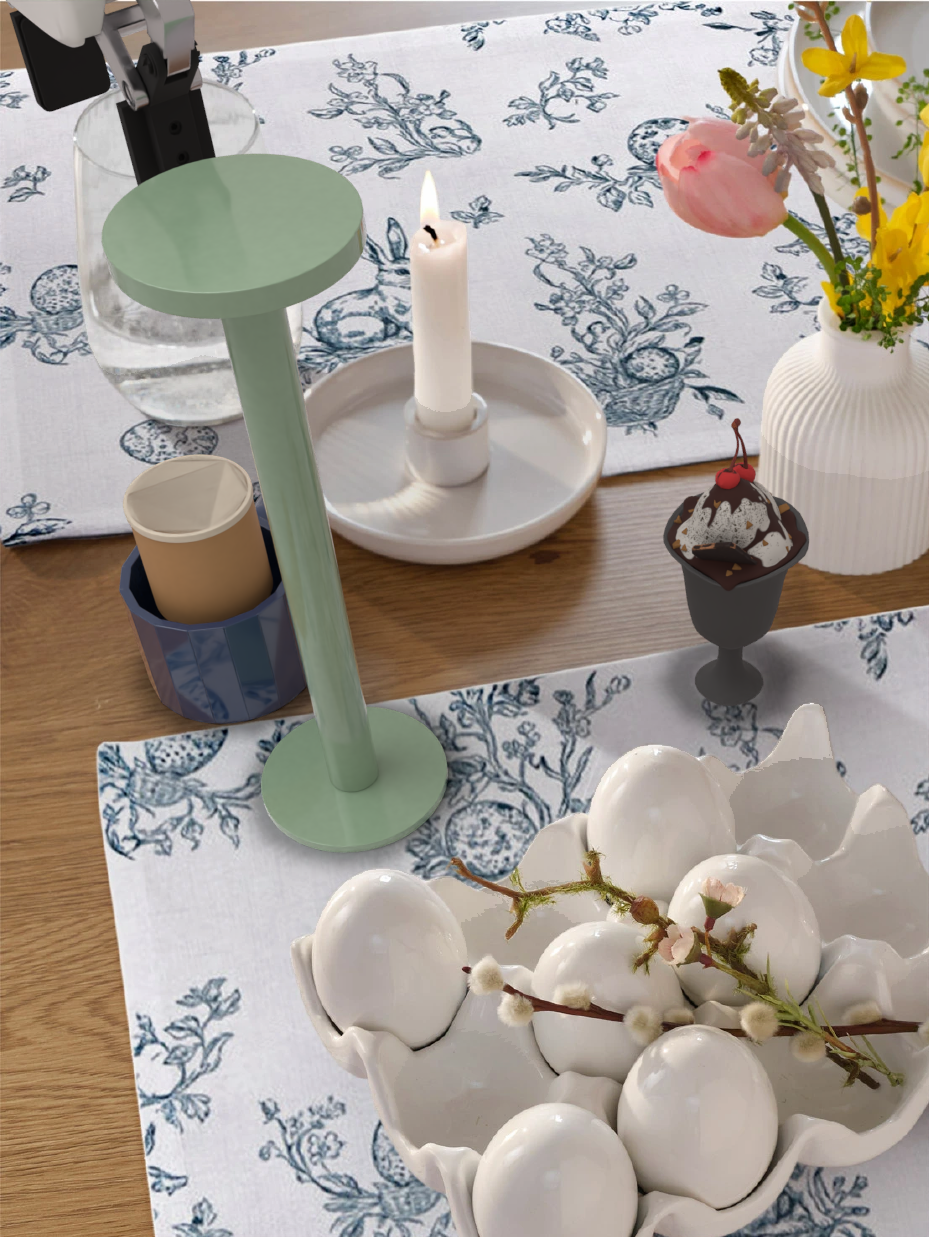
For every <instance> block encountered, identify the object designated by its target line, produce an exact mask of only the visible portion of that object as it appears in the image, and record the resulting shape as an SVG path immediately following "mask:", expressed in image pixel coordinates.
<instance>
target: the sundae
mask: <svg viewBox="0 0 929 1237" xmlns="http://www.w3.org/2000/svg"><path fill="white" fill-rule="evenodd" d="M741 424H742V421H741V419H740V418H739V417H736V418H734V419H733V420H732V422H731V424H730V427H731V428H732V431H733V433H734V437H735V440H736V448H735V452H734V455H733V458H732V460H731V462H730V464H729V467H723V468H721V469H720V470H718V471H717V472H716V473H715V478H714V482H715V483H714V484H713V485H711V486H709V487H708V488H707V489H706V490H705V491H702V492H701V493H698V494H696V495H689V496H687V497H686V498H684V500H683V502H681V503H680V505H679V506H678V507H677V508H676V509H675V510H674V511H673V512H672V514H671V515H670V517H669V518H668V520H667V522H666V524H665V527H664V531H663V535H662V539H663V540H662V542H663V544H664V546H665V548H666V550H667V552H668V553H669V554H670V556H671V557H672V558H673V559H674V560H675V561H676V562H677V563H679V564H680V567H681V570H682V575H683V581H684V588H685V597H686V603H687V604H686V605H687V608H688V611H689V615H690V620H691V624H692V625H693V627H694V628H695V630H696V632H697V633H698V634H699V635H700V636H701V637H702V638H704V639H705V640H706V641H708V642H709V643H711V644H713V645H715V646H717V647H718V652H717V653H718V654H717V657H716V659H713V660H710V661H709V662H707V663H705V664H703V665H702V667H700V668H699V669H698V670H697V672H696V674H695V675H694V676H695V677H694V686H695V687H696V689H697V691H698V693H699V694H700V695H701V696H702V697H704V699H706V700H707V701H709V702H711V703H712V704H714V705H715V704H716V705H718V706H723V707H735V706H740V705H743V704H746V703H748V702H750V701H752V700H753V699H755V698H756V697H757V696H758V695H759V694H760V693H761V691H762V690H763V687H764V678H763V676H762V674H761V672H760V671H759V670H758V668H757V667H755V666H754V665H753V664H752V663H750V662H748V661H747V660H744V659H743V651H744V648H745V647H747V646H750V645H752V644H754V643H756V642H757V641H759V640H761V639H763V637H764V636H765V635H766V634H767V633H769V631H770V630H771V628H772V625H773V622H774V620H775V618H776V615H777V612H778V608H779V604H780V600H781V595H782V593H783V592H782V591H783V587H784V583H785V579H786V576H787V573H788V571H789V569H792V568H793V567H794V566H796V565H797V564H798V563H799V562H800V561H801V560H803V558H805V557H806V554H807V552H808V551H809V546H810V536H809V535H810V534H809V533H810V532H809V530H808V527H807V524H806V521H805V520H804V518H803V516H802V514H801V512H800V511H798V509H796V507H795V506H794V505H792V504H791V503H789V501H787V500H785V499H783V498H781V497H777V496H774V495H773V493H772V492H770V491H769V490H768V488H766V487H765V485H763V484H762V483H760V482H758V481H756V480H755V479H756V475H757V473H756V469H755V468H754V466H753V465H752V464H750V463H749V462H748V454H747V449H746V446H745V442H744V440H743V437H742V435H741V433H740V432H739V427H740V425H741ZM740 446H741V451H742V458H743V461H742V462H741V461H740V462H737V459H738V455H739V451H740Z"/></svg>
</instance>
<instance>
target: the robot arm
mask: <svg viewBox="0 0 929 1237" xmlns="http://www.w3.org/2000/svg"><path fill="white" fill-rule="evenodd" d="M5 1H6V3H7V5H8V6H9V8H11V9H16V10H14V11H11V12H8V13H9V14H8V15H9V17H10V19H11V24H12V27H13V30H14V34H15V36H16V40H17V43H18V47H19V50H20V52H21V55H22V60H23V63H24V67H25V69H26V72H27V75H28V76H27V77H28V79H29V83H30V85H31V89H32V92H33V95H34V99H35V102H36V104H37V106H39V107H40V108H41V109H42V110H43V111H45V112H49V113H51V112H55V111H58V110H61V109H63V108H66V107H69V106H72V105H75V104H78V103H81V102H84V101H87V100H90V99H92V98H95V97H98V96H101V95H105V94H106V93H108V92H109V90H110V89H111V85H112V81H111V78H110V74H109V69H110V71H111V73H112V75H113V77H114V79H115V81H116V83H117V85H118V87H119V89H120V92H121V94H122V95H123V98H124V99H123V100H121V101H118V102H116V103H115V105H116V110H117V113H118V118H119V121H120V125H121V129H122V132H123V136H124V140H125V143H126V147H127V151H128V155H129V158H130V163H131V166H132V169H133V173H134V178H135V181H136V184H137V186H139V185H140V184H142V183H143V182H145V181H147V180H149V179H151V178H153V177H155V176H156V175H158V174H161V173H163V172H166V171H168V170H170V169H173V168H176V167H179V166H182V165H185V164H188V163H192V162H196V161H200V160H204V159H209V158H214V157H217V156H216V151H215V146H214V143H213V137H212V133H211V129H210V124H209V121H208V116H207V111H206V107H205V103H204V99H203V98H204V97H203V94H202V89H201V88H203V83H204V82H203V77H202V73H201V70H200V56H201V51H200V50H198V49H197V46H199V44H198V42H197V41H196V39H195V33H196V32H195V31H196V14H195V10H194V7H193V6H194V5H193V4H192V1H191V0H135V2H136V4H133V5H130V6H126V7H124V8H121V9H116V10H115V11H111V12H108V13H106V12H105V10H106V5H108V4H111V3H114V2H118V0H5ZM142 31H146V34H147V36H148V37H149V39H150V42H149V43H146V44H143V45H142V46H141V49H140V53H139V55H138V59H137V62H136V65H135V63H134V61H133V59H132V57H131V55H130V52H129V50H128V48H127V46H126V44H125V43H124V40H123V38H124V37H128V36H131V35H133V34H137V33H140V32H142ZM106 62H107V63H106ZM107 65H108V67H109V69H108V67H107Z"/></svg>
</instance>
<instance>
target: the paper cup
mask: <svg viewBox="0 0 929 1237" xmlns="http://www.w3.org/2000/svg"><path fill="white" fill-rule="evenodd" d="M122 509H123V513H124V517H125V519H126V522H127V523H128V525H129V526H130V528H131V531H132V534H133V537H134V540H135V543H136V545H137V546H138V550H139V553H140V556H141V559H142V562H143V565H144V568H145V571H146V574H147V577H148V581H149V584H150V587H151V590H152V593H153V596H154V599H155V602H156V605H157V608H158V610H159V611H160V613H161V614H162V615H163V616H164V617H165V618H166V619H167V620H168V621H173V622H178V623H184V624H189V625H191V624H200V623H210V622H220V621H224V620H226V619H229V618H232V617H234V616H237V615H240V614H242V613H245V612H247V611H250V610H252V609H254V608H255V607H256V606H258V605H259V604H260V603H262V602H263V601H264V600H265V599H267V598H268V597H269V596H270V595H271V592H272V588H273V577H272V573H271V569H270V565H269V561H268V557H267V553H266V549H265V545H264V540H263V536H262V532H261V528H260V524H259V520H258V516H257V512H256V508H255V500H254V486H253V483H252V480H251V477H250V475H249V473H248V472H247V471H246V469H245V468H243V466H241V465H240V464H238V463H237V462H235V461H233V460H232V459H228V458H226V457H223V456H219V455H213V454H203V453H202V454H199V453H198V454H197V453H196V454H187V455H185V454H184V455H179V456H175V457H172V458H171V457H170V458H168V459H165V460H163V461H160V462H157V463H156V464H153V465H151V466H150V467H148V468H147V469H145V470H144V471H142V472H141V473H140V474H138V475H137V476H136V477H135V478H134V479H133V480H132V481H131V482H130V484H129V485H128V487H127V488H126V490H125V492H124V495H123V499H122Z"/></svg>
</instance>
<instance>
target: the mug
mask: <svg viewBox="0 0 929 1237" xmlns="http://www.w3.org/2000/svg"><path fill="white" fill-rule="evenodd" d="M254 503H255V508H256V512H257V516H258V520H259V524H260V528H261V532H262V536H263V540H264V545H265V549H266V553H267V557H268V561H269V565H270V569H271V573H272V577H273V588H272V592H271V595H270V596H269V597H268V598H267V599H265V600H264V601H263V602H262V603H260V604H259V605H258V606H256V607H255V608H254V609H252V610H250V611H247V612H245V613H242V614H240V615H237V616H234V617H232V618H229V619H226V620H224V621H220V622H210V623H200V624H191V625H189V624H184V623H178V622H173V621H168V620H167V619H166V618H165V617H164V616H163V615H162V614H161V613H160V611H159V610H158V608H157V605H156V602H155V599H154V596H153V593H152V590H151V587H150V584H149V581H148V577H147V574H146V571H145V568H144V565H143V562H142V559H141V556H140V553H139V550H138V546H137V544H135V546H134V548H133V549H132V551H131V552H130V554H128V556H127V558H125V559H126V560H125V561H124V562H123V564H122V565H121V568H120V575H119V576H120V578H119V586H118V587H119V588H118V592H119V594H120V597H121V601H122V604H123V606H124V609H125V612H126V615H127V618H128V621H129V624H130V627H131V630H132V632H133V635H134V638H135V642H136V644H137V647H138V650H139V653H140V655H141V659H142V662H143V664H144V668H145V671H146V674H147V676H148V679H149V682H150V685H151V686H152V688H153V690H154V692H155V693H156V695H157V697H158V699H159V701H160V703H162V705H164V706H165V707H167V708H168V709H169V710H170V711H173V712H174V713H175V714H177V715H179V716H180V717H183V718H185V719H189V720H190V721H191V720H192V721H195V722H199V723H207V724H216V725H217V724H219V725H221V724H222V725H223V724H237V723H243V722H247V721H252V720H255V719H258V718H261V717H264V716H267V715H269V714H271V713H273V712H275V711H278V710H279V709H281V708H283V707H284V706H286V705H287V704H289V703H290V702H291V701H293V700H295V698H296V697H297V696H298V695H299V694H301V693H302V692H303V691H304V690H305V689H306V688H307V687H308V686H307V682H306V678H305V674H304V670H303V665H302V661H301V657H300V653H299V649H298V644H297V640H296V636H295V632H294V628H293V623H292V619H291V615H290V611H289V607H288V602H287V598H286V594H285V590H284V586H283V581H282V577H281V573H280V569H279V564H278V560H277V556H276V552H275V548H274V543H273V539H272V535H271V531H270V527H269V522H268V518H267V514H266V510H265V506H264V501H263V497H262V493H261V494H260V495H259V496H258V498H257V499H256V501H254Z"/></svg>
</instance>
